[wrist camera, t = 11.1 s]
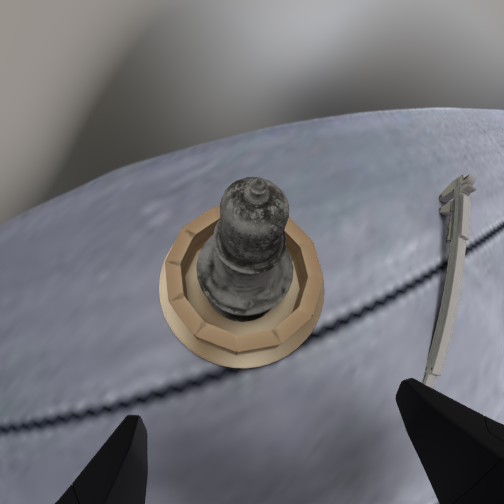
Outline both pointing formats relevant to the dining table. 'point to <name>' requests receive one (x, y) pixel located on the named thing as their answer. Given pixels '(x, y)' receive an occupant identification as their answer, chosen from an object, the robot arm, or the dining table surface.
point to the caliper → (451, 270)
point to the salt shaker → (247, 252)
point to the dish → (234, 332)
